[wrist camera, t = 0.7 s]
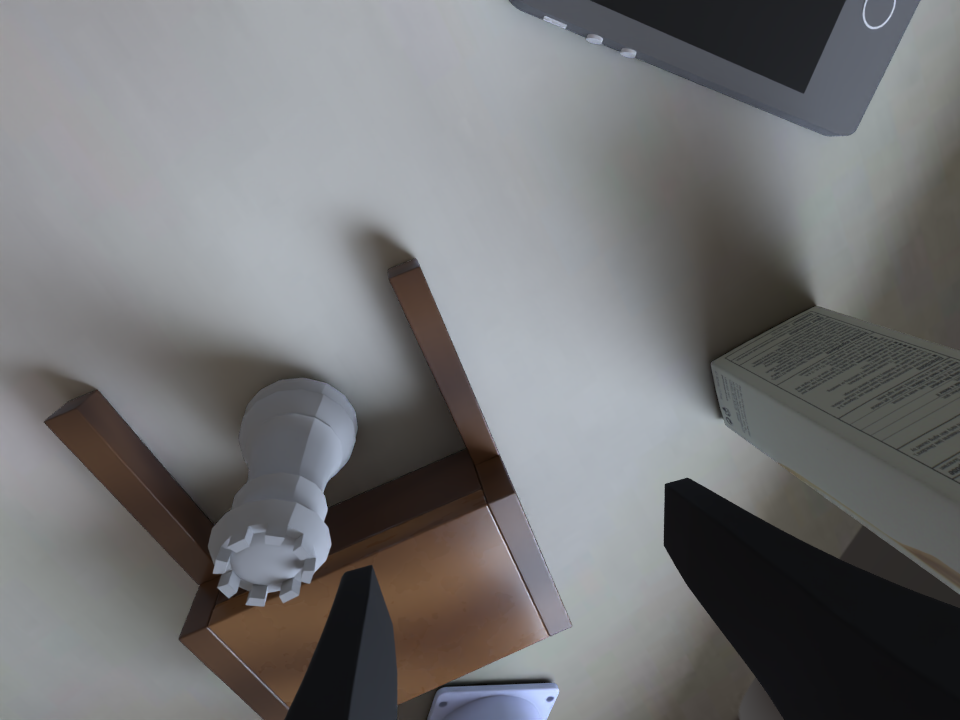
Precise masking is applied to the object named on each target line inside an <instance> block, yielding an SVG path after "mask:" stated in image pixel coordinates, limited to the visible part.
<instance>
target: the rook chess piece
mask: <svg viewBox="0 0 960 720" xmlns="http://www.w3.org/2000/svg"><path fill="white" fill-rule="evenodd" d="M357 431H358V425H357V419H356V412H355V410H354V408H353V407H352V405H351V404H350V402H349V401H348V399H347V398H346V396H345V395H344V394H342V393H341V392H339V391H338V390H336V389H335V388H333V387H332V386H330V385H329V384H327V383H325V382H320V381H316V380H312V379H308V378H295V379H285V380H279V381H277V382H275V383H273V384H271V385H269V386H267V387H265V388H263V389H261V390H260V391H259V392H258V393H257V394H256V395H255V397H254V398H253V399H252V400H251V401H250V402H249V404H248V405H247V407H246V411H245V415H244V417H243V420H242V424H241V428H240V433H239V443H240V447H241V451H242V455H243V458H244V461H245V462H246V463H247V466H248V469H249V474H248V481H247V483H245V485H244V486H243V487H242V488H241V489H240V490H239V491H238V492H237V494H236V495H235V496H234V500H233V504H232V509H231V511H229V512H227V513H225V515H224V516H223V517H222V518H221V519H220V520H219V521H218V522H217V524H216V525H215V526H214V527H213V528H212V531H211V535H210V539H209V543H208V549H209V552H210V555H211V558H212V561H213V564H214V565H215V566H214V570H213V574H222V575H221V578H220V581H219V584H218V586H217V588H218V589H219V590H220V591H221V592H222V593H223V594H224V595H226V596H227V597H228V598H230V597H231V596H233V595H234V594H236V593H237V591H238V587H240V588H243V589H245V590H247V591H249V594H248V597H247V601H246V605H250V606H261V607H264V606H265V602H266V598H267V594H268V593H271V592H276V591H280V594H279V597H280V599H281V601H282V602H283V603H285V602H287V601H289V600H291V599H293V598H295V597H297V596H299V593H300V587H301V582H304V583H308V584H310V583H311V580H312V577H313V574H314V573H315V572H316V571H317V570H318V569H319V568H320V566H321V565H322V564H323V563H324V562H325V561H326V559H327V556H328V553H329V550H330V548H331V545H332V544H331V539H330V533H329V528H328V526H327V525H326V524H325V523H324V520H325V517H326V514H327V511H328V508H327V503H326V498H325V495H324V494H323V493H324V490H325V487H326V484H327V482H328V481H329V480H330V479H331V478H332V477H333V476H335V475H336V474H337V473H338V472H339V471H340V469H341V468H342V467H343V466H344V465H345V464H346V463H347V462H348V460H349V458H350V456H351V453H352V450H353V447H354V444H355V441H356V439H355V437H356V434H357Z"/></svg>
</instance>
